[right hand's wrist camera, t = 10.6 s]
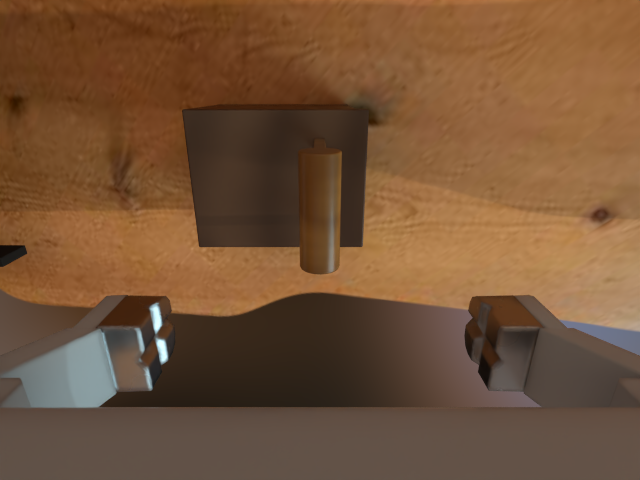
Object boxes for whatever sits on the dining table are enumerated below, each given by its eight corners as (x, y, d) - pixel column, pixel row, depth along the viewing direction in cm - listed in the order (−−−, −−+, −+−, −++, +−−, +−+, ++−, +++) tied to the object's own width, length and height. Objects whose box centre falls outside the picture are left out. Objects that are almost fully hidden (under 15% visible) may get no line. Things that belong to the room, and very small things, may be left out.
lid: (366, 108, 25) (390, 117, 17) (361, 242, 28) (378, 301, 20) (186, 108, 25) (123, 116, 17) (203, 242, 28) (156, 302, 20)
